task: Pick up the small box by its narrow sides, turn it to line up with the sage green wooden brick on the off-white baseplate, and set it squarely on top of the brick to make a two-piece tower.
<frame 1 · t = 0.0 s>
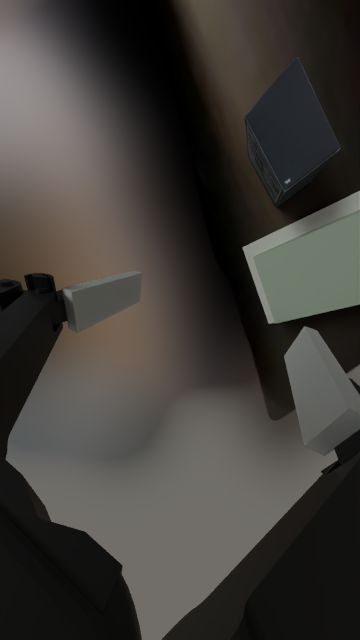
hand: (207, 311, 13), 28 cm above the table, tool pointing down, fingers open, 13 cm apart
base brick: (312, 268, 31), resting on baseplate
baseplate: (311, 267, 32), on the table
small box: (280, 166, 28), on the table
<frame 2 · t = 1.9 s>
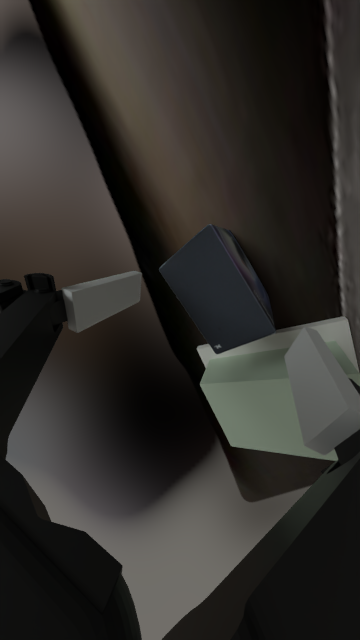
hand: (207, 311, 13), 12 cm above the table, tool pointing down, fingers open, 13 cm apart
base brick: (274, 385, 26), resting on baseplate
baseplate: (273, 381, 27), on the table
small box: (230, 276, 23), on the table
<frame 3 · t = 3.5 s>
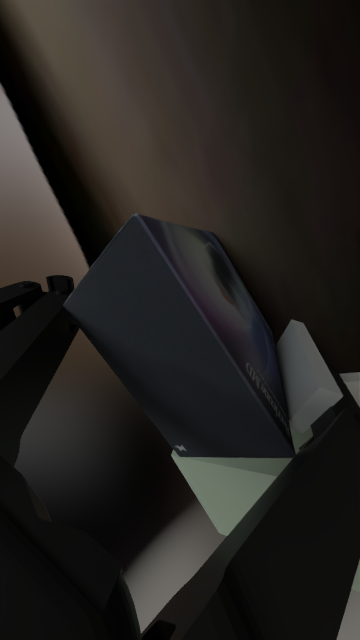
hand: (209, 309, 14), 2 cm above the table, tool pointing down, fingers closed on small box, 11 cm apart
base brick: (279, 450, 19), resting on baseplate
baseplate: (278, 441, 19), on the table
small box: (216, 300, 16), on the table, touching gripper
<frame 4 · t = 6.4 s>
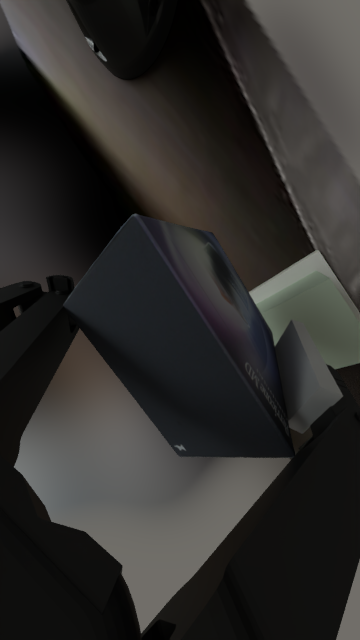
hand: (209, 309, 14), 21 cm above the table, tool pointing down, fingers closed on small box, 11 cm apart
base brick: (283, 327, 31), resting on baseplate
baseplate: (282, 325, 32), on the table
small box: (216, 300, 16), point 18 cm above the table, touching gripper
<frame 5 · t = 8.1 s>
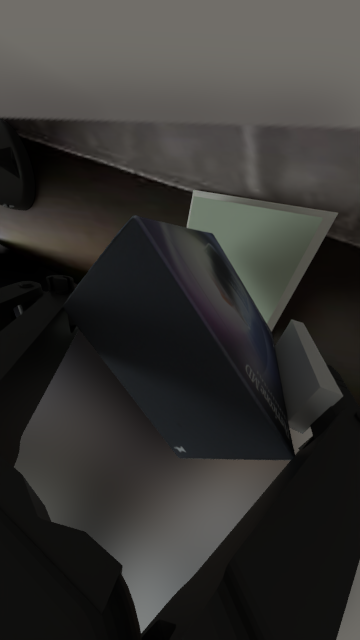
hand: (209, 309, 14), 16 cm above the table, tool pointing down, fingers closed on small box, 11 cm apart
base brick: (231, 276, 26), resting on baseplate
baseplate: (232, 275, 27), on the table
small box: (216, 301, 16), point 14 cm above the table, touching gripper
when the fingers open (11 cm above the table, at t = 9.5 s): small box drops 2 cm, resting on base brick.
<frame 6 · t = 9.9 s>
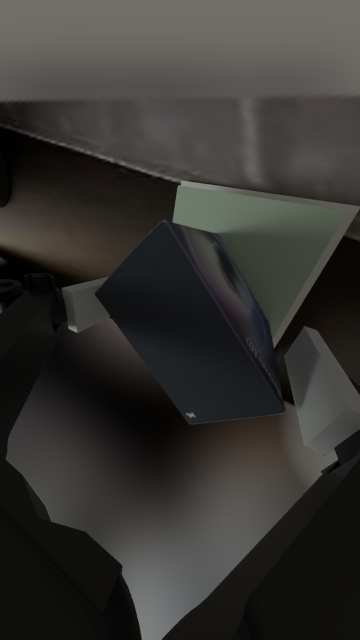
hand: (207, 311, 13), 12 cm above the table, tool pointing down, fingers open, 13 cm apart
base brick: (227, 283, 22), resting on baseplate
baseplate: (228, 281, 23), on the table
small box: (219, 294, 17), point 7 cm above the table, touching base brick
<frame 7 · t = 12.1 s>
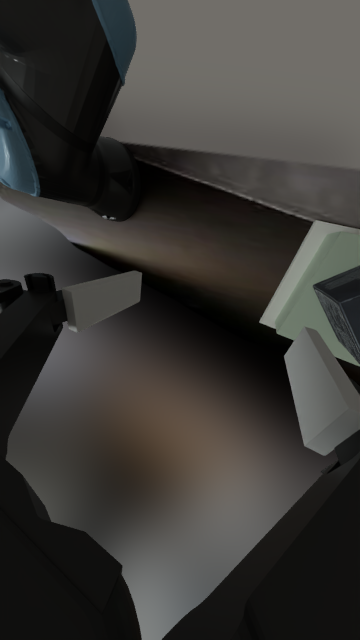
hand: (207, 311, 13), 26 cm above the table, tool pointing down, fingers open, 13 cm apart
base brick: (336, 295, 30), resting on baseplate
baseplate: (334, 294, 30), on the table
small box: (350, 304, 25), point 7 cm above the table, touching base brick
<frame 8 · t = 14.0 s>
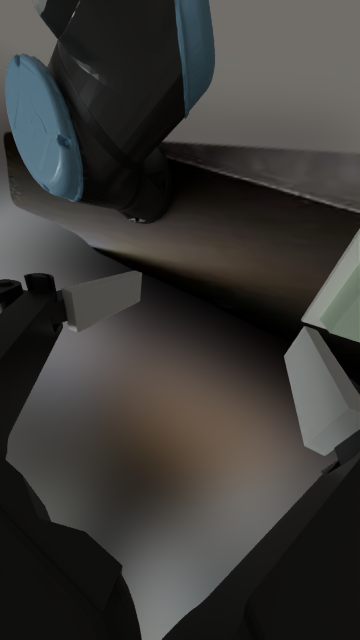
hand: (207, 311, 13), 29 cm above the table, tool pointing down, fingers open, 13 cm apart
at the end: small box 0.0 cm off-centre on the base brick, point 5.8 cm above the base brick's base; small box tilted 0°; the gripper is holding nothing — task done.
